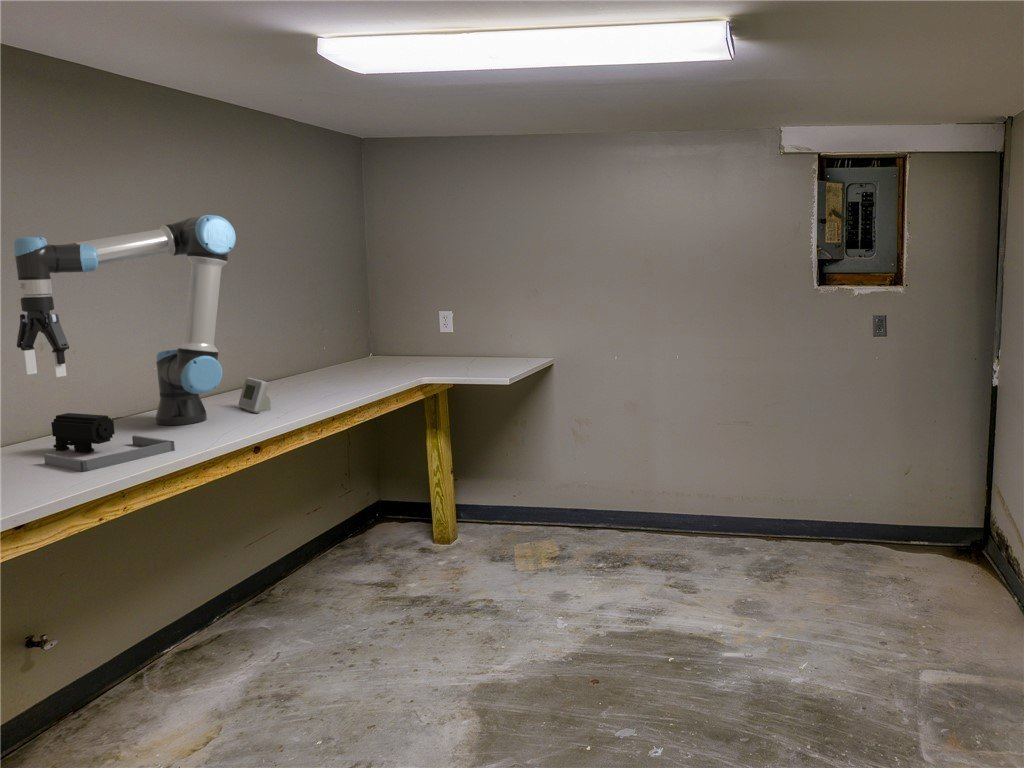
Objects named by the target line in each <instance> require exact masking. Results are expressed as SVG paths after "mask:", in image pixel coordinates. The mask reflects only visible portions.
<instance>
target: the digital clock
mask: <svg viewBox="0 0 1024 768" xmlns="http://www.w3.org/2000/svg"><path fill="white" fill-rule="evenodd" d="M268 388H269V383H268V382H267V381H264V380H262V379H259V378H256V377H246V378H245V379H244V383H243V387H242V390H241V394H240V397H239V401H238V404H237V405H238V407H239V408H241V409H243V410H244V411H247V412H250V413H255V414H260V413H261V412H269V411H271V410H272V407H271V398H270V396H268V395H267V391H268Z"/></svg>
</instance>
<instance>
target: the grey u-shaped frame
mask: <svg viewBox="0 0 1024 768" xmlns="http://www.w3.org/2000/svg"><path fill="white" fill-rule="evenodd" d="M131 438H132V445H133V446H139V447H138V448H134V449H129V450H126V451H121V452H116V453H112V454H108V455H103V456H99V457H95V458H94V457H93V458H90V459H85V460H83V459H79V458H72V457H68V456H63V455H58V454H53V453H44V454H43V458H44V464H45V465H48V466H53V467H57V468H64V469H69V470H73V471H77V472H83V473H85V472H89V471H94V470H97V469H102V468H106V467H110V466H114V465H118V464H122V463H127V462H131V461H135V460H139V459H143V458H148V457H151V456H157V455H161V454H164V453H169V452H173V451H174V452H175V450H176V449H175V446H176V445H175V441H174V440H168V439H163V438H155V437H149V436H143V435H137V434H135V435H132V436H131Z"/></svg>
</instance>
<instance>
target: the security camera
mask: <svg viewBox="0 0 1024 768" xmlns="http://www.w3.org/2000/svg"><path fill="white" fill-rule="evenodd" d="M115 432H116V431H115V425H114V420H113V419H112V418H111V417H109V415H105V414H104V415H103V414H92V413H90V414H89V413H72V412H66V413H62V414H57V415H55V418H53V421H52V422H51V434H52V437H55V439H54V441H55V444H53V448H54V449H55V451H56V452H57V451H58V452H64V451H68V450H70V446H71V447H73V449H74V453H77V454H78V453H80V454H90V453H94V452H95V448H93V446H92V445H93V444H96V445H100V444H101V445H102V444H104V443H108V442H111V439H112V438H114V436H113V435H115V434H116V433H115Z"/></svg>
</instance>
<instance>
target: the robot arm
mask: <svg viewBox="0 0 1024 768" xmlns="http://www.w3.org/2000/svg"><path fill="white" fill-rule="evenodd" d="M236 239H237V236H236V232H235V229H234V226H233V225H232V224H231V223H230V221H228V220H227V219H226V218H224V217H222V216H220V215H213V214H206V215H202V216H195V217H194V216H193V217H190V218H187V219H183V220H180V221H177V222H173V223H172V222H171V223H167V224H163V225H161V226H160V227H159V229H153V230H147V231H146V230H145V231H141V232H135V233H134V232H133V233H128V234H121V235H115V236H110V237H102V238H97V239H92V240H85V241H77V242H73V243H67V244H48V242H47V239H46V237H43V236H39V237H37V236H24V237H23V236H22V237H16V238H15V239H14V241H13V248H14V250H13V251H14V258H15V264H16V265H15V266H16V272H17V280H18V285H17V287H18V290H19V295H20V296H22V297H20V308H21V311H22V312H27V313H21V314H20V315H19V327H18V328H19V329H18V333H17V341H16V347H17V348H18V349H21V351H22V353H23V354H22V355H23V362H24V370H25V375H26V376H27V375H33V374H34V375H35V374H38V366H37V360H36V359H37V358H36V350H35V347H34V344H35V342H36V339H37V336H38V334H39V333H42V334H43V335H44V337H45V339H47V342H48V343H49V345H50V347H51V348H52V351H51V354H52V355H51V356H52V362H53V370H54V377H55V378H60V377H66V376H68V375H67V367H66V358H65V357H66V356H65V352H66V351H67V350H69V349H70V345H69V341H68V340H67V338H66V335H65V333H64V331H63V328H62V325H61V323H60V319H59V317H60V316H59V314H57V313H55V314H54V313H53V314H51V311H53V310H54V309H55V304H54V298H53V296H51V295H52V294H53V287H52V278H51V274H60V273H61V274H63V273H66V274H67V273H84V274H85V273H90V272H91V273H92V272H95V271H97V270H98V267H99V266H100V267H101V266H105V265H110V264H115V263H122V262H128V261H133V260H138V259H139V260H140V259H144V258H150V257H151V258H152V257H155V256H161V255H167V256H168V257H173V256H174V257H175V256H184V255H186V259H187V260H188V261H189V263H191V268H190V276H189V277H190V278H189V287H188V297H187V299H188V300H187V307H186V318H185V320H186V321H185V328H184V339H183V340H184V341H183V343H182V344H180V345H178V347H177V348H176V349H170V350H162V351H159V352H157V354H156V361H155V363H156V369H157V380H158V391H159V401H158V406H157V410H156V414H155V423H156V424H157V425H159V426H160V425H161V426H181V425H182V426H183V425H184V426H185V425H191V424H196V423H201V422H203V421H206V420H207V419H208V418H207V416H208V415H207V411H206V408H205V406H204V404H203V401H202V399H201V396H200V395H202V394H209V393H211V392H213V391H215V389H216V388H217V387H218V386H219V385H220V383H221V381H222V379H223V374H224V373H223V368H222V365H221V364H220V362H219V360H218V359H219V350H218V348H217V347H216V346H215V339H216V338H215V337H216V326H217V319H218V318H217V316H218V315H217V314H218V306H219V305H218V304H219V297H220V296H219V294H220V285H221V275H222V268H223V267H224V266H225V265H227V264H228V261H229V259H228V258H229V252H231V251H232V250H233V248H234V246H235V245H236V241H237V240H236Z"/></svg>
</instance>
